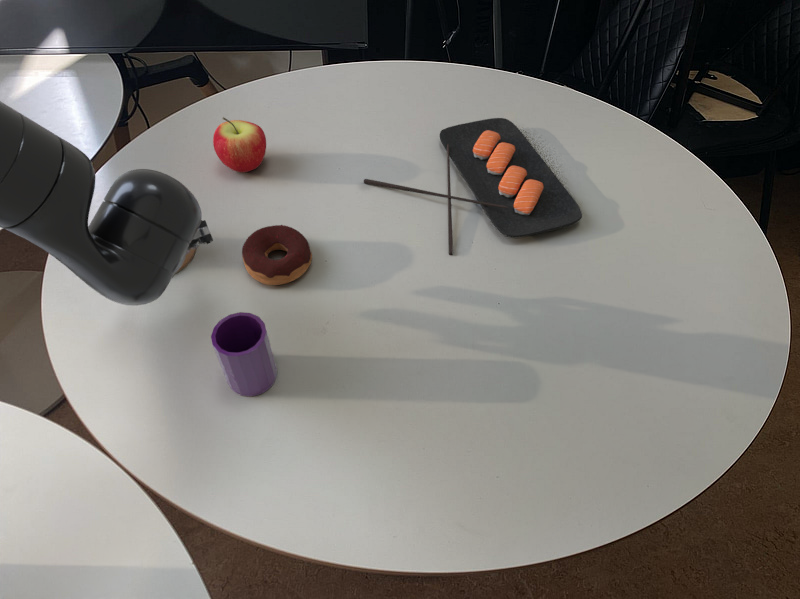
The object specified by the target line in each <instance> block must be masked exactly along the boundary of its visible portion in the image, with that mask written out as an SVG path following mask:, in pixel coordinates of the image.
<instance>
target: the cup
mask: <svg viewBox="0 0 800 599" xmlns="http://www.w3.org/2000/svg"><path fill="white" fill-rule="evenodd" d="M210 339H211V345H212V348H213V349H214V352H215V355H216V358H217V360H218V363H219V365H220V368H221V370H222V373H223V375H224V378H225V380H226V383H227V384H228V386H229V388H230V390H232V391H233V392H234V393H235V394H237V395H240V396H242V397H256V396H260V395H262V394H263V393H265V392H267V391H269V390H270V388H271V387H272V386H273V385H274V384H275V383H276V380H277V377H278V368H277V365H276V364H277V363H276V360H275V357H274V352H273V348H272V345H271V341H270V338H269V334H268V330H267V326H266V323H265V322H264V320H263V319H261V317H260V316H258V315H256V314H253V313H252V312H245V311H244V312H243V311H240V312H235V313H231V314H228V315H227V316H225V317H223V318H221V319H220V320H219V321H218V322H217V323H216V324H215V325H214V327H213V329H212V331H211V335H210Z"/></svg>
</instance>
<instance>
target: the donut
mask: <svg viewBox="0 0 800 599" xmlns="http://www.w3.org/2000/svg"><path fill="white" fill-rule="evenodd" d="M277 250H279V251H283V252H286V255H285V256H284V257H281V258H279V259H274V258H269V254H270V253H271V252H273V251H277ZM241 258H242V261H243V265H244V267H245V269H246V270H245V271H247V273H248V275H250V276H251V277H252V278H253V279H254V280H255V281H256V282H259V283H261V284H263V285H266V286H279V285H284V284H288V283H291V282H293V281H295V280H297V279H299V278H300V277H301V276H303V275H304V274H305V273H306V271H307V270H308V269H309V267H310V265H311V263H312V260H313V254H312V251H311V247H310V243H309V242H308V239H307V238H306V237H305V235H303V233H301V232H300V231H299V230H297V229H295V228H293V227H291V226H288V225H283V224H281V225H279V224H278V225H277V224H275V225H267V226H264V227H261V228H258V229H257V230H255V231H254V232H252V233H251V234H249V235H248V236H247V238H246V239H245V241H244V243H243V246H242V249H241Z"/></svg>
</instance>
